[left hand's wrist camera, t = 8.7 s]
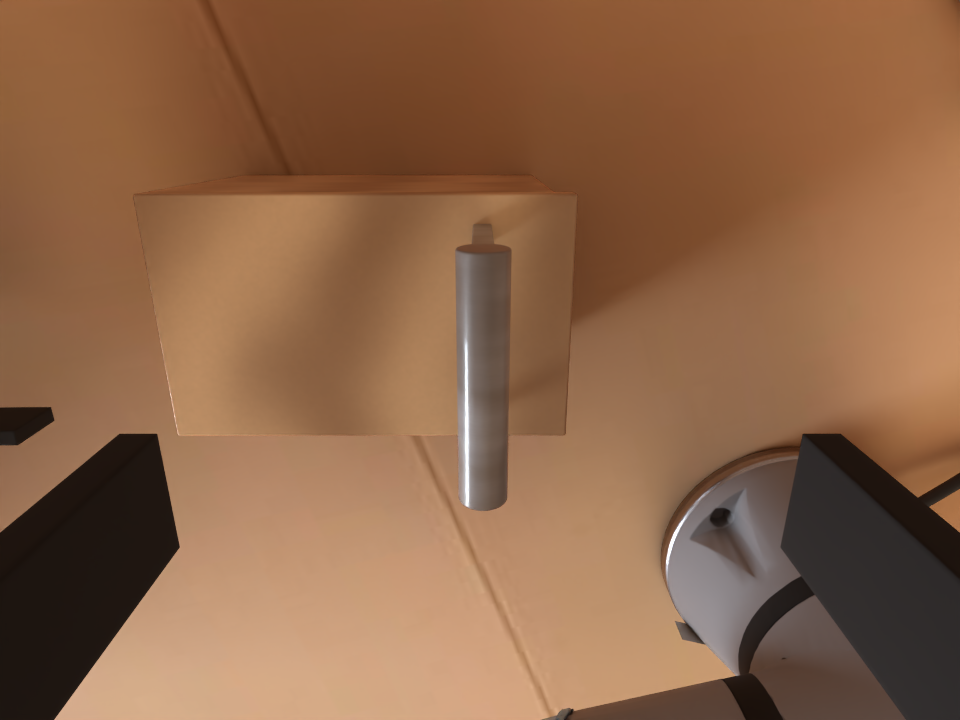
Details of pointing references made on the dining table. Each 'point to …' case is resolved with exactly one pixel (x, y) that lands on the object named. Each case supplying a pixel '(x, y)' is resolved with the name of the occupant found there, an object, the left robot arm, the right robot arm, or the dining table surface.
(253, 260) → the lid
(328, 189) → the chest
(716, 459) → the dining table surface
